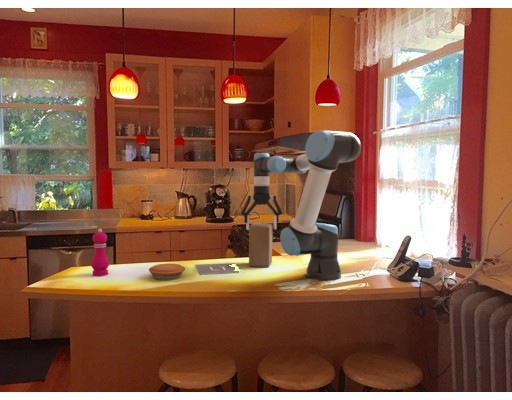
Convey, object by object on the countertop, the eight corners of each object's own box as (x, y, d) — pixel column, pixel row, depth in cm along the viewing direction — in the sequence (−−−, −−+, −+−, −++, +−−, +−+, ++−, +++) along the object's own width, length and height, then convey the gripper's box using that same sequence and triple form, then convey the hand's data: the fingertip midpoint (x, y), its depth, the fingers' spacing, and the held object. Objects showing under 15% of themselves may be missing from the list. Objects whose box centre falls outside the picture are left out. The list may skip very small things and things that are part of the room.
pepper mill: (92, 277, 179) (91, 230, 178) (90, 273, 185) (89, 228, 184) (110, 275, 182) (110, 229, 181) (107, 272, 189) (107, 227, 187)
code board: (244, 272, 191) (244, 272, 191) (199, 274, 186) (199, 274, 186) (235, 263, 210) (235, 263, 210) (195, 264, 205) (195, 264, 205)
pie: (146, 274, 186) (146, 263, 186) (181, 271, 192) (181, 260, 191) (151, 283, 172) (151, 270, 171) (189, 279, 178) (189, 268, 177)
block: (269, 267, 201) (269, 225, 200) (248, 266, 203) (249, 225, 202) (272, 263, 211) (272, 223, 210) (252, 262, 213) (252, 222, 211)
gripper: (284, 185, 211) (283, 227, 212) (234, 185, 205) (234, 229, 206) (288, 185, 204) (288, 229, 205) (237, 185, 198) (237, 230, 199)
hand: (261, 229), depth 205 cm, fingers open, 13 cm apart
